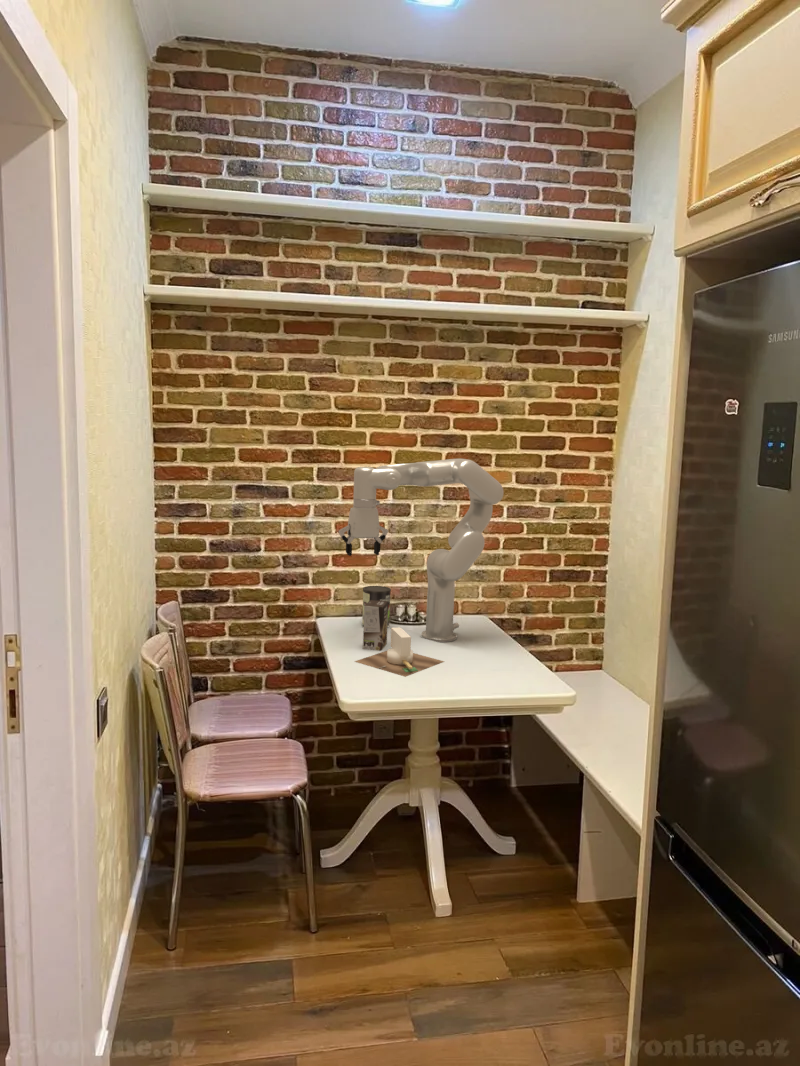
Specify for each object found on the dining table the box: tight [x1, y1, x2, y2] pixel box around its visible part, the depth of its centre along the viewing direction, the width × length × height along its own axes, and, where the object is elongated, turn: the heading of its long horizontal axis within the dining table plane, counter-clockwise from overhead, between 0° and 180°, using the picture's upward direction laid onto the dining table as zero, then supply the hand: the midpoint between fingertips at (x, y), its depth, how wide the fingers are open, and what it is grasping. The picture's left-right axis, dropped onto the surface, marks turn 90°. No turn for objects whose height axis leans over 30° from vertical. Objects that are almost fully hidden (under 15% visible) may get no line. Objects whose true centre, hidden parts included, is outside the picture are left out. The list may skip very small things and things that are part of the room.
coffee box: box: [362, 600, 388, 652], centre depth 248 cm, size 9×6×16 cm
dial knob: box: [386, 627, 414, 669], centre depth 231 cm, size 16×8×9 cm, turn 17°
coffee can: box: [361, 585, 392, 628], centre depth 279 cm, size 10×10×14 cm
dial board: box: [354, 650, 445, 678], centre depth 234 cm, size 20×20×2 cm
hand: (362, 554), depth 254 cm, fingers open, 9 cm apart
